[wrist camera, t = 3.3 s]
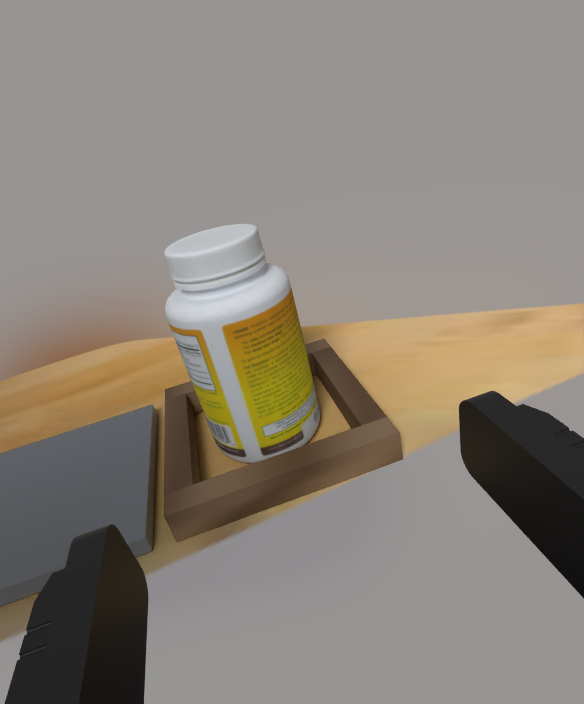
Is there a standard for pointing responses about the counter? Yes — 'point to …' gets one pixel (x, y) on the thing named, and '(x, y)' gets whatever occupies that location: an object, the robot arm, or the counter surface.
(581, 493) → the robot arm
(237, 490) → the pocket frame
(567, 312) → the counter surface
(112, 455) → the slate coaster
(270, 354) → the supplement bottle
